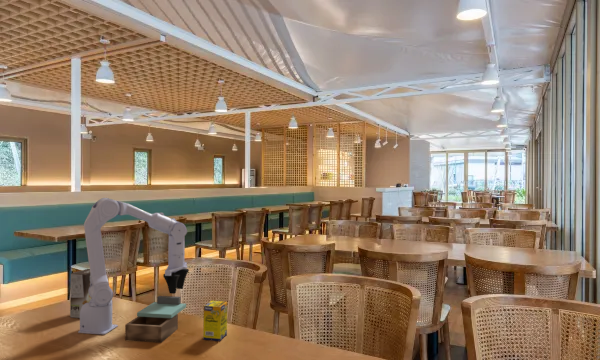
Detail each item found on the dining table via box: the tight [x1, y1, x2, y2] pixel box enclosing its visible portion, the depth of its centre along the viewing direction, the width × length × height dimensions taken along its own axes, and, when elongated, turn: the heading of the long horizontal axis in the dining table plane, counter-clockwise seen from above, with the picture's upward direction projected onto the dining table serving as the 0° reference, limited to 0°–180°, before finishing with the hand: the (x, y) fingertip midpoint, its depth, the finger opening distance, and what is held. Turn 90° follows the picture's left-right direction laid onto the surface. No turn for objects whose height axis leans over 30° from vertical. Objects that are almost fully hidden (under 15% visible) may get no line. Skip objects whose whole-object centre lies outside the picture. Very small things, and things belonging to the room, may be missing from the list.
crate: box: [124, 313, 179, 344], centre depth 137 cm, size 12×12×5 cm
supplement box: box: [202, 300, 228, 342], centre depth 135 cm, size 6×6×11 cm
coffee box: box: [69, 268, 92, 319], centre depth 156 cm, size 9×6×16 cm
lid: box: [136, 295, 187, 318], centre depth 144 cm, size 12×12×4 cm
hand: (176, 290), depth 155 cm, fingers open, 6 cm apart
